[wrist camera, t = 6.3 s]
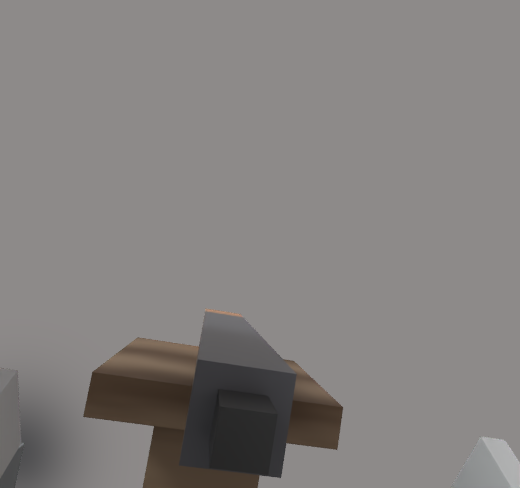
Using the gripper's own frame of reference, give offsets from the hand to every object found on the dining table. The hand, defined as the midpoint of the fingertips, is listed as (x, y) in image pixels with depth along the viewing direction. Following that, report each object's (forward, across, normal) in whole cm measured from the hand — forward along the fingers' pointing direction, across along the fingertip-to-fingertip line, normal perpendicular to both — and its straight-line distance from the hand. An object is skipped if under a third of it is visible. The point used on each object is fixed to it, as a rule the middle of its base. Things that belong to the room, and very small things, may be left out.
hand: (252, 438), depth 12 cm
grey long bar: (+9, -1, -6) cm, 10 cm away
